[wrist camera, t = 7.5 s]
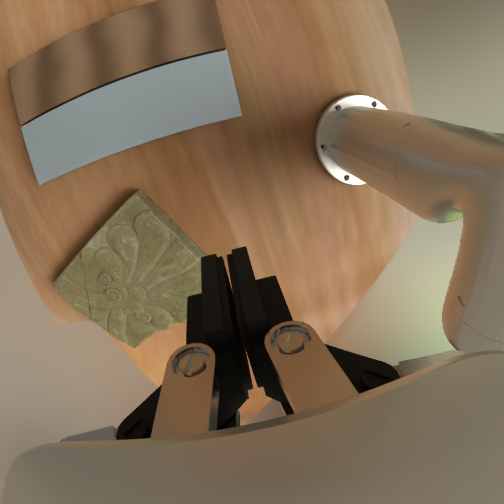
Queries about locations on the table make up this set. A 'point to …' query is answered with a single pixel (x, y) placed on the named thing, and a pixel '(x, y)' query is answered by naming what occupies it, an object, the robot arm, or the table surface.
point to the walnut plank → (114, 53)
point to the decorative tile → (134, 273)
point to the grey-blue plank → (132, 114)
